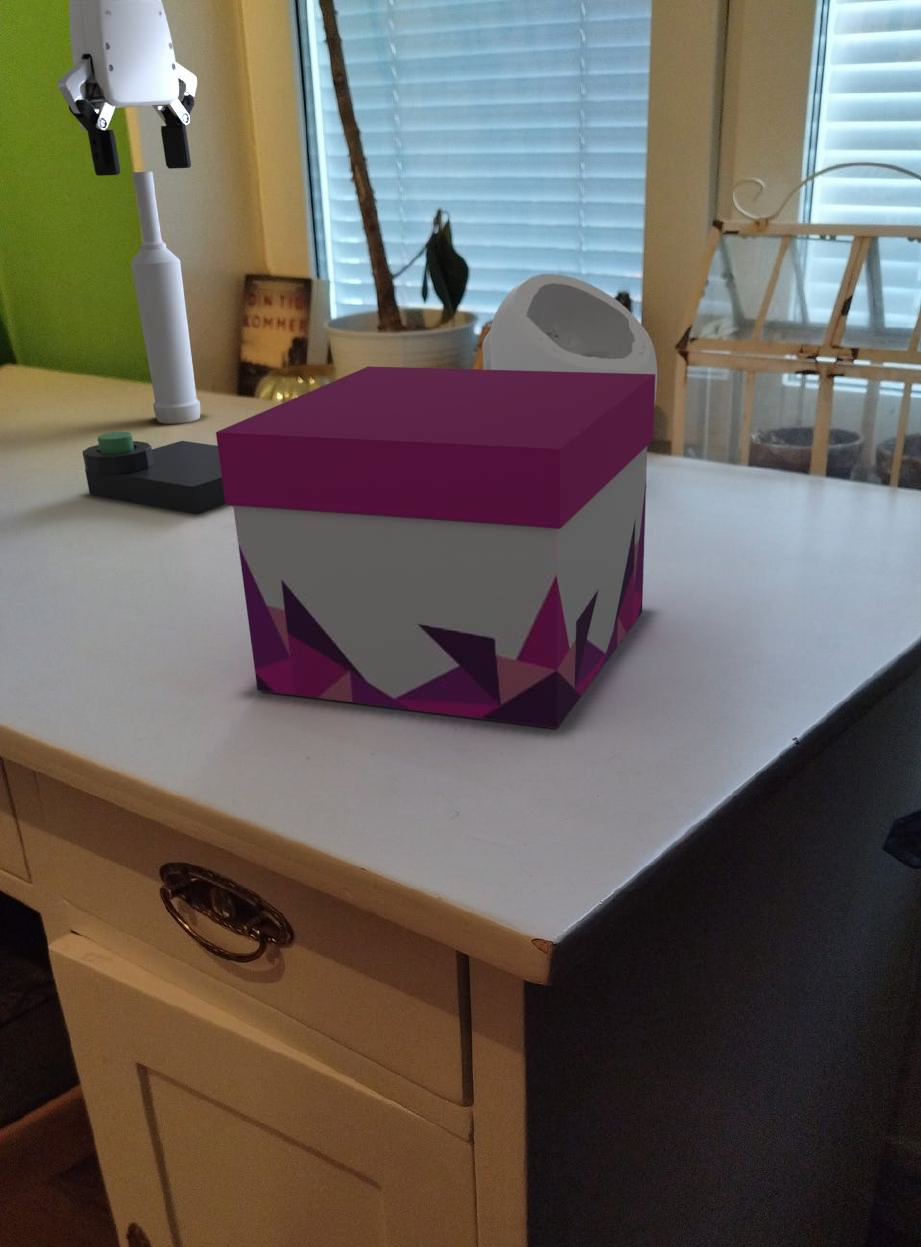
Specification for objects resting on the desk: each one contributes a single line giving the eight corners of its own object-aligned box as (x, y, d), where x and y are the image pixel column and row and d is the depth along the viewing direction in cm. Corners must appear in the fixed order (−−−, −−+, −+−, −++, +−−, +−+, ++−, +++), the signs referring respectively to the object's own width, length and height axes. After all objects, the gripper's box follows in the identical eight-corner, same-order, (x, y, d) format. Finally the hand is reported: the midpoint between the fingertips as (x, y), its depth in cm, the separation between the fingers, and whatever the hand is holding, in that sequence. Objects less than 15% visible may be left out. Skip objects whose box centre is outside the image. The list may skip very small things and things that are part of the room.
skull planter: (574, 416, 126) (612, 238, 111) (647, 556, 116) (701, 382, 100) (443, 431, 123) (463, 250, 107) (506, 577, 113) (539, 400, 97)
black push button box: (78, 496, 115) (69, 452, 113) (182, 464, 124) (176, 423, 122) (188, 517, 107) (181, 470, 105) (291, 481, 116) (286, 437, 114)
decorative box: (384, 588, 89) (368, 366, 82) (647, 612, 83) (655, 374, 75) (250, 693, 74) (215, 432, 66) (560, 733, 67) (559, 449, 60)
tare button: (93, 454, 113) (90, 437, 113) (119, 447, 116) (116, 430, 115) (115, 458, 112) (112, 440, 111) (141, 451, 114) (138, 433, 113)
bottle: (147, 424, 142) (107, 174, 129) (167, 414, 146) (130, 171, 134) (190, 424, 140) (154, 172, 128) (209, 414, 145) (175, 170, 132)
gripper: (153, -20, 130) (180, 166, 139) (15, -25, 118) (54, 179, 127) (204, -27, 126) (229, 165, 135) (67, -34, 114) (103, 177, 123)
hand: (144, 171), depth 131 cm, fingers open, 9 cm apart
